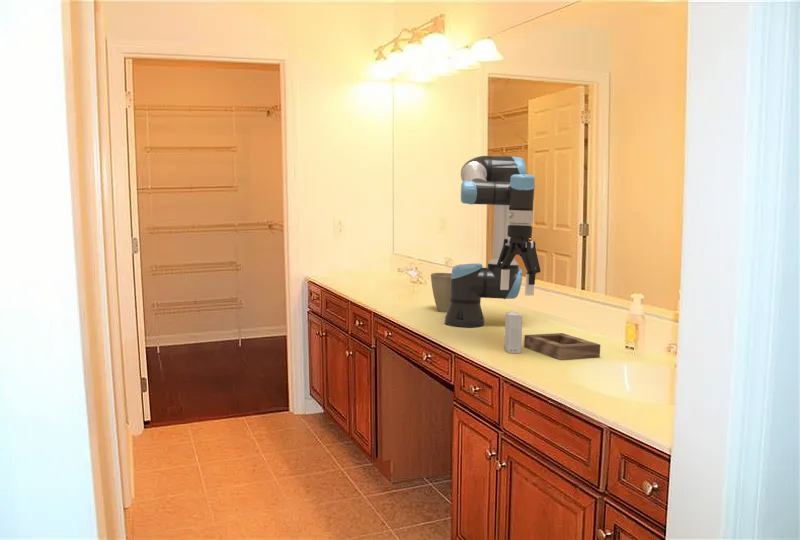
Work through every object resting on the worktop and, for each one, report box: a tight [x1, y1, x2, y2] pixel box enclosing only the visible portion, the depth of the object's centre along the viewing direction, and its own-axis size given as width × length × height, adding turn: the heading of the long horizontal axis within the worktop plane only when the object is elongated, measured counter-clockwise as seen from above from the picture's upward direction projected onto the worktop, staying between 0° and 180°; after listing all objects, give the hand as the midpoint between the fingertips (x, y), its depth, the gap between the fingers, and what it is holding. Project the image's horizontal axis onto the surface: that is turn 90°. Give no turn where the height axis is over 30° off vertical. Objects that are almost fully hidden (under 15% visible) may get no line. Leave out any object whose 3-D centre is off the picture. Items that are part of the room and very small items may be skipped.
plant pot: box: [430, 272, 452, 313], centre depth 285 cm, size 15×15×16 cm
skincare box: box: [504, 311, 523, 354], centre depth 208 cm, size 6×4×12 cm
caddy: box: [523, 332, 601, 361], centre depth 210 cm, size 19×15×4 cm
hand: (516, 292), depth 207 cm, fingers open, 13 cm apart
